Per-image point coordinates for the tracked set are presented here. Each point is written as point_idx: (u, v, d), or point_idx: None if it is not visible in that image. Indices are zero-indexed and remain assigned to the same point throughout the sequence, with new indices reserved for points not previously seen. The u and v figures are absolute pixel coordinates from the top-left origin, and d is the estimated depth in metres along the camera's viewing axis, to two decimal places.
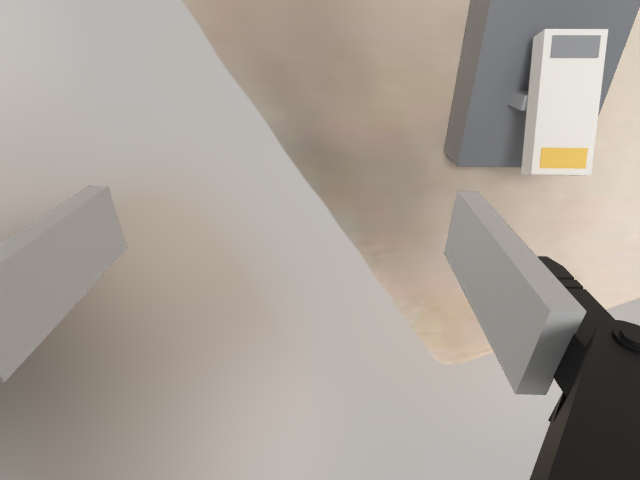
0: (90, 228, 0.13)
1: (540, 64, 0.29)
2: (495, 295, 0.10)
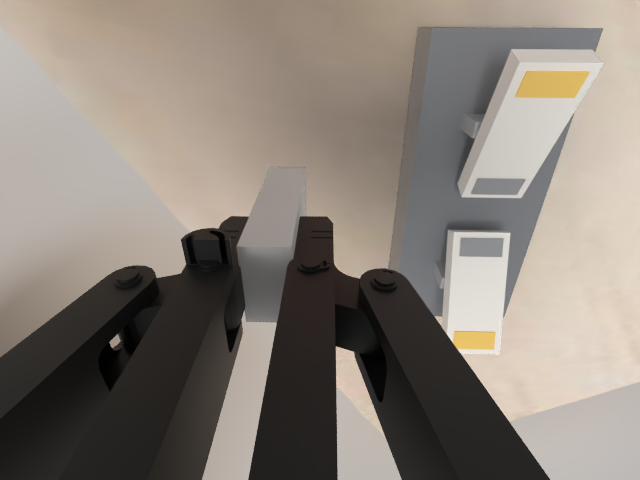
0: None
1: (451, 260, 0.32)
2: None
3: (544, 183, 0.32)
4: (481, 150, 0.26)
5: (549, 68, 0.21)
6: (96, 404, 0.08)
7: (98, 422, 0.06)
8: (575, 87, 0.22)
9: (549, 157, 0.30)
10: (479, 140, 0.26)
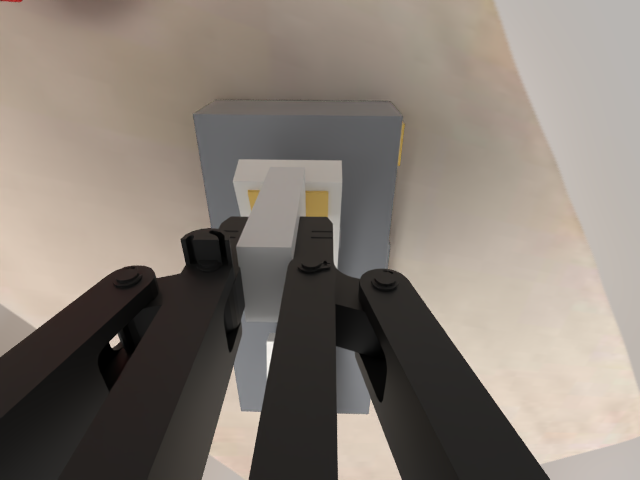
0: None
1: (267, 373, 0.27)
2: None
3: None
4: None
5: None
6: (96, 404, 0.08)
7: (98, 422, 0.06)
8: (323, 207, 0.17)
9: (375, 254, 0.25)
10: None
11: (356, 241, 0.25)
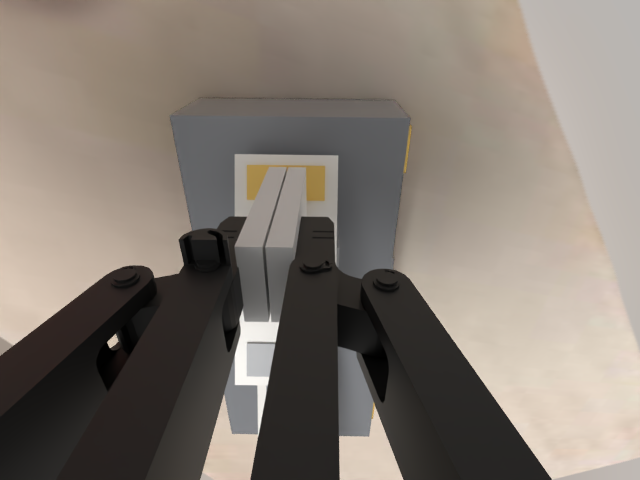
0: None
1: (258, 400, 0.24)
2: None
3: None
4: None
5: (274, 161, 0.17)
6: (94, 404, 0.08)
7: (96, 422, 0.06)
8: (320, 187, 0.17)
9: None
10: None
11: (357, 257, 0.22)
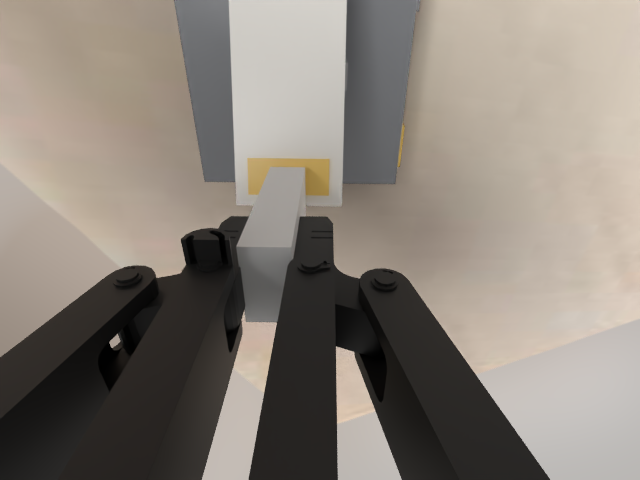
0: None
1: None
2: None
3: None
4: None
5: None
6: (96, 404, 0.08)
7: (98, 422, 0.06)
8: None
9: None
10: None
11: None
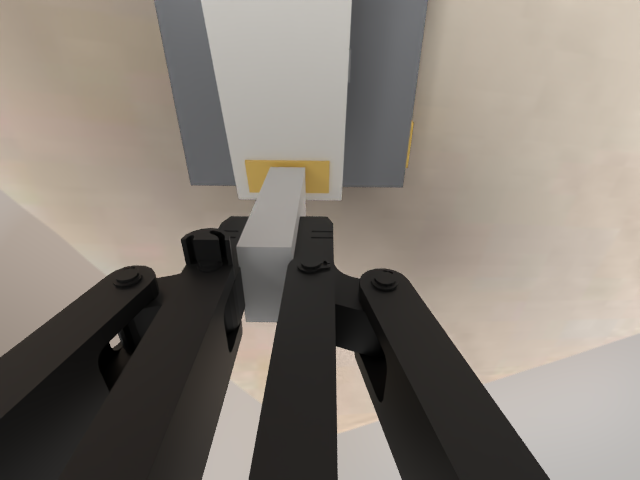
0: None
1: None
2: None
3: None
4: None
5: None
6: (96, 404, 0.08)
7: (98, 422, 0.06)
8: None
9: None
10: None
11: None
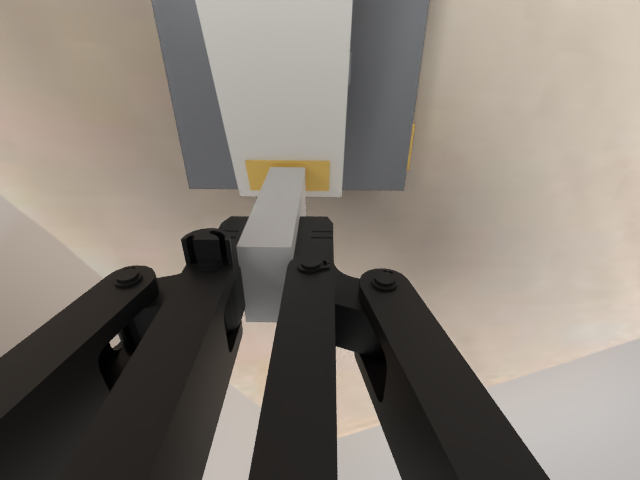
0: None
1: None
2: None
3: None
4: None
5: None
6: (96, 404, 0.08)
7: (98, 422, 0.06)
8: None
9: None
10: None
11: None
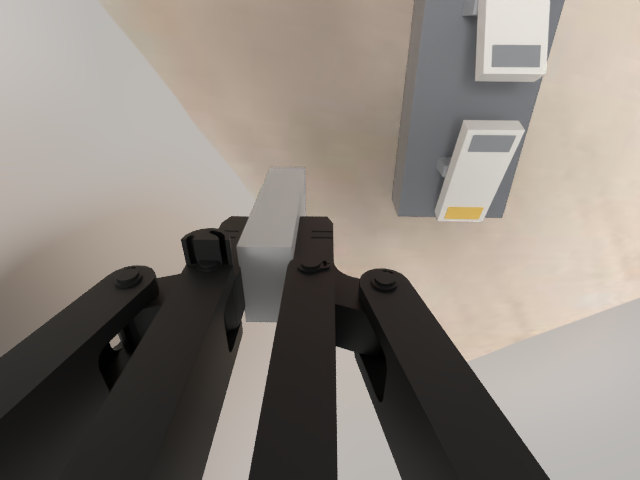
0: None
1: (459, 153, 0.33)
2: None
3: None
4: (486, 10, 0.28)
5: None
6: (96, 404, 0.08)
7: (98, 422, 0.06)
8: None
9: None
10: (480, 15, 0.29)
11: None
